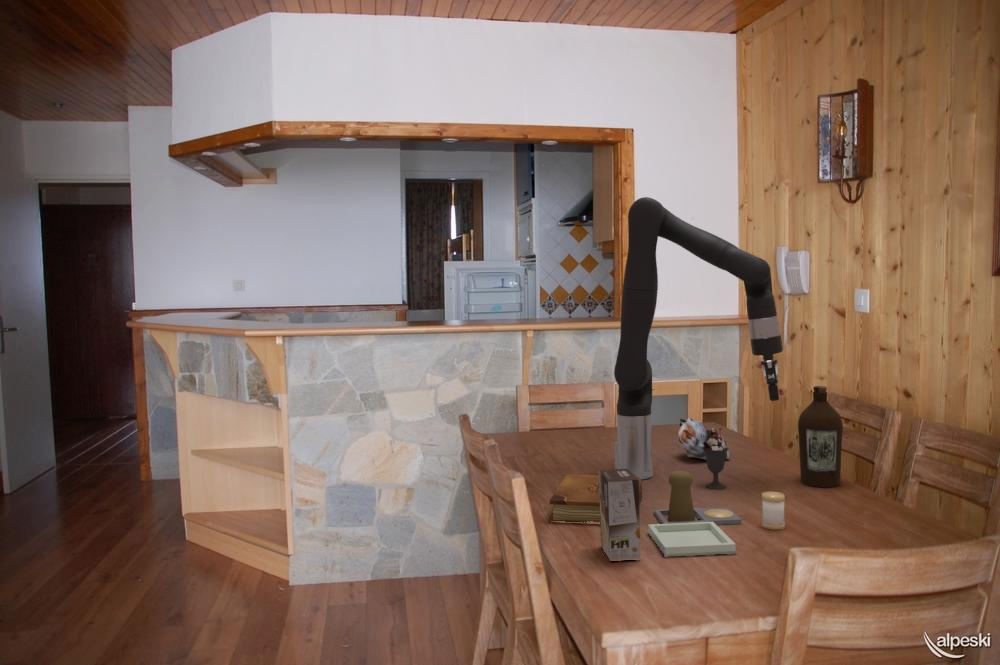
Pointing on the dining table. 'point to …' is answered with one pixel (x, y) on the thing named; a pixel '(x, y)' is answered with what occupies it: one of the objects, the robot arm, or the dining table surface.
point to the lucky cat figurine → (696, 438)
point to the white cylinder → (773, 510)
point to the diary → (579, 499)
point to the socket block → (705, 516)
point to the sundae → (715, 458)
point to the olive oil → (820, 442)
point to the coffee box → (619, 514)
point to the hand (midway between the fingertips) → (774, 397)
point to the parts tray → (691, 539)
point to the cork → (680, 497)
